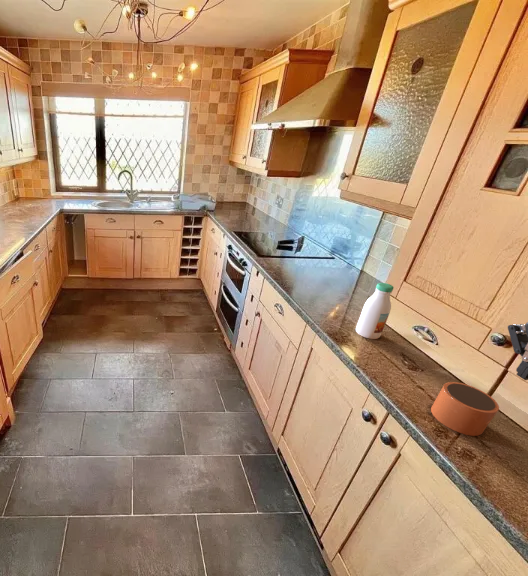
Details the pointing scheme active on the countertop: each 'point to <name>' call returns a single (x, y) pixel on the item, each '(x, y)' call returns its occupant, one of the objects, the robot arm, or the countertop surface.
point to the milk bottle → (375, 312)
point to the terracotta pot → (464, 408)
